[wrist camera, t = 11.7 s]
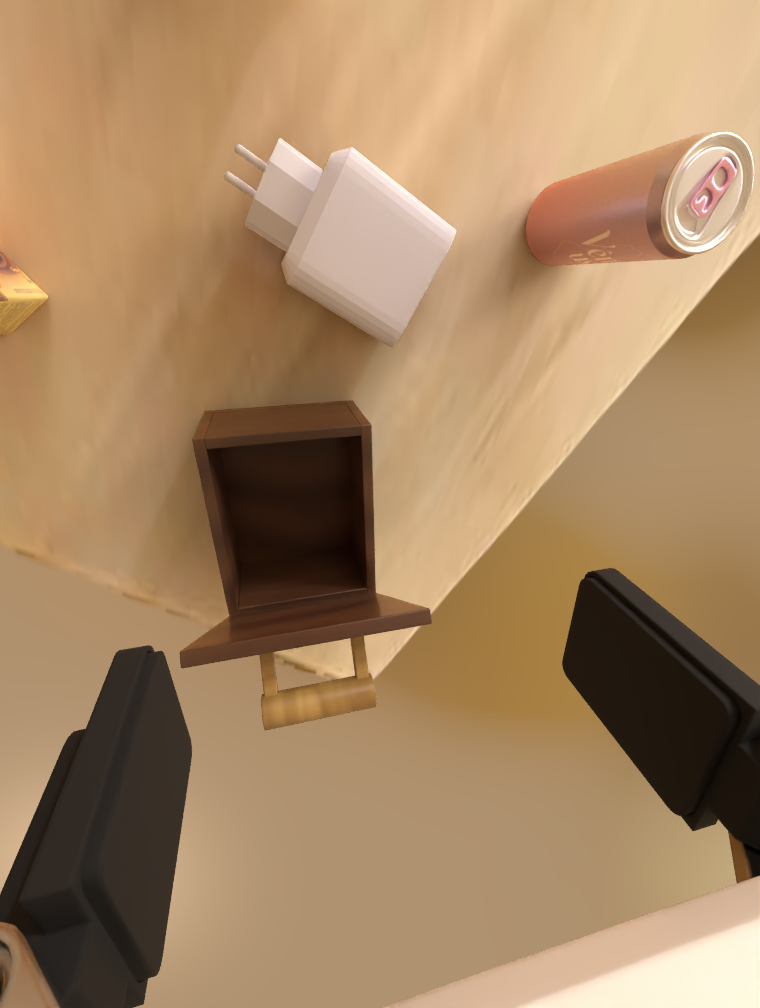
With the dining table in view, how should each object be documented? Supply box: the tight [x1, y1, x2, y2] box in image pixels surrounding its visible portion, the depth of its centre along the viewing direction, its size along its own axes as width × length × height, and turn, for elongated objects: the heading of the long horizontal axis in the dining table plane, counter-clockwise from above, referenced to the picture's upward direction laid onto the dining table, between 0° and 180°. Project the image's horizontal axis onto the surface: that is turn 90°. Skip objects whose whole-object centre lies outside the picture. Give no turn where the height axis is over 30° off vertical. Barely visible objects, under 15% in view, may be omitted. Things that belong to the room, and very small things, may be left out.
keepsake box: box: [192, 401, 376, 616], centre depth 39 cm, size 16×13×8 cm
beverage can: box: [526, 132, 754, 266], centre depth 31 cm, size 6×6×15 cm
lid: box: [180, 593, 432, 730], centre depth 30 cm, size 16×13×5 cm
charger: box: [224, 138, 456, 347], centre depth 32 cm, size 5×9×15 cm
